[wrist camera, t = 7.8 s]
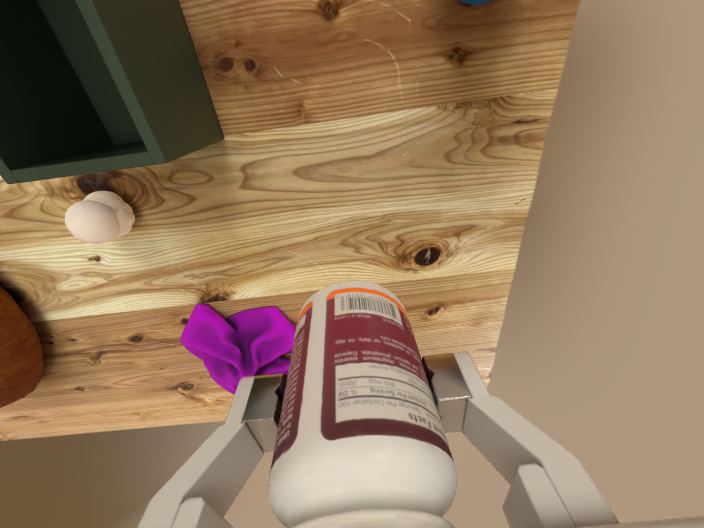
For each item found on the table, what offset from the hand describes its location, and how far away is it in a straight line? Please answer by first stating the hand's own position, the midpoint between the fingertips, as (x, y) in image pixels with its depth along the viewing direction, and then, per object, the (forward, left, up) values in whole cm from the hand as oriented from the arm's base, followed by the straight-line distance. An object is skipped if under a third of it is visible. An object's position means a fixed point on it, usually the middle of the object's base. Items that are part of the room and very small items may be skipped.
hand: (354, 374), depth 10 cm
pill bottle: (0, 0, -3) cm, 3 cm away
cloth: (+30, 0, -23) cm, 37 cm away
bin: (0, -20, -23) cm, 30 cm away
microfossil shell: (+14, -20, -23) cm, 33 cm away
